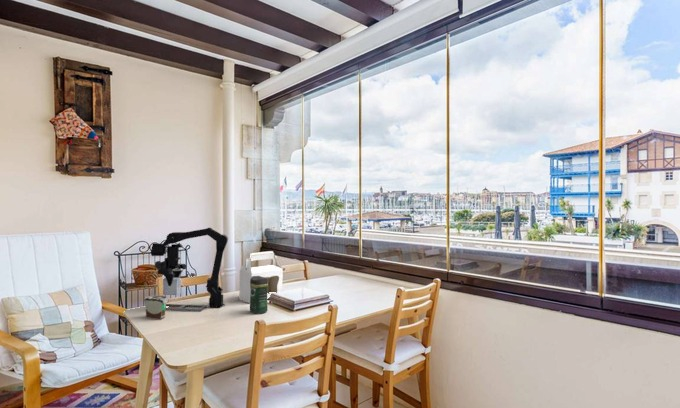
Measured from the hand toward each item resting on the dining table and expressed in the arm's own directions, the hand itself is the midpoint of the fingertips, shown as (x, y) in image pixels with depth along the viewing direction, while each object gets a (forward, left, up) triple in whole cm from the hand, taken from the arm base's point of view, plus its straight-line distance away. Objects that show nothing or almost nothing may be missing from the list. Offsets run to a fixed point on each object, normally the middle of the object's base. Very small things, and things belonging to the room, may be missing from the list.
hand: (172, 284), depth 195 cm
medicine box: (0, 0, -5) cm, 5 cm away
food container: (-2, +15, -13) cm, 20 cm away
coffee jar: (-48, 0, -13) cm, 49 cm away
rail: (-6, 0, -13) cm, 14 cm away
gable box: (-41, -27, -13) cm, 51 cm away
